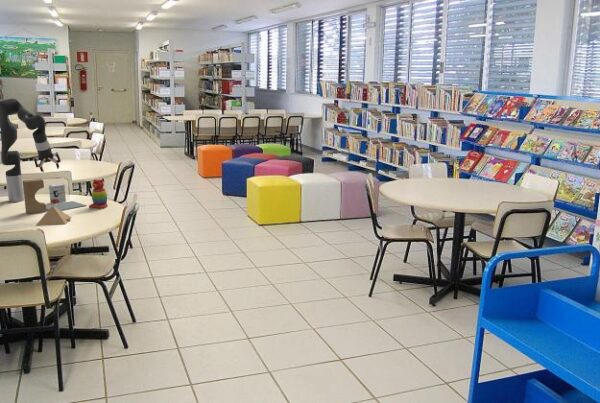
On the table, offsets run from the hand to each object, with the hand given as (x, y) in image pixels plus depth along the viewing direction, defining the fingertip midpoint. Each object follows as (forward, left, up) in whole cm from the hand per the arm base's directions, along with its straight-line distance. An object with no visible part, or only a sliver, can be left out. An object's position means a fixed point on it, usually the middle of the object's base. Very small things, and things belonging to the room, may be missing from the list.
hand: (50, 169), depth 344 cm
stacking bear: (+11, +24, -26) cm, 37 cm away
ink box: (-21, +13, -26) cm, 36 cm away
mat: (-6, +9, -26) cm, 28 cm away
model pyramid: (+23, -12, -27) cm, 37 cm away
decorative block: (-6, -9, -26) cm, 28 cm away
